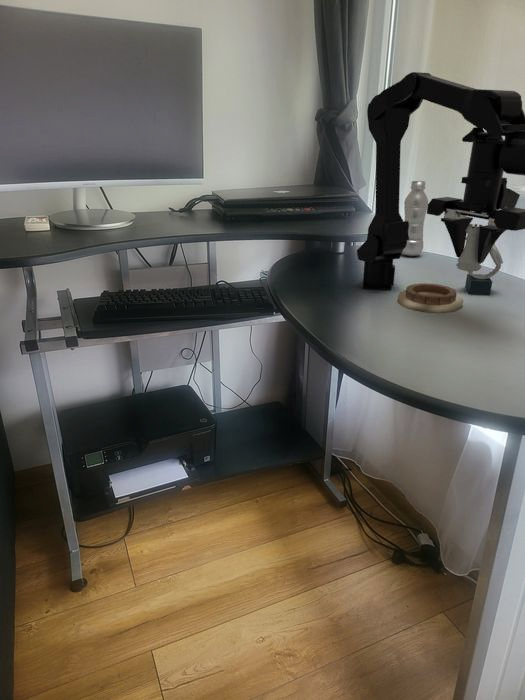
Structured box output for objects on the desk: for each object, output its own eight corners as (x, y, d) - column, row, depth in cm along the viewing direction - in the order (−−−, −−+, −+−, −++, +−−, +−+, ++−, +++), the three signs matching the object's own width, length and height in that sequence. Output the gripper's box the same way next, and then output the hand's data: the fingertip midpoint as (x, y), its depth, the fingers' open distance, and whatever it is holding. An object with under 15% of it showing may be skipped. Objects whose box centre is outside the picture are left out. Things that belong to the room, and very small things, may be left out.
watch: (499, 296, 111) (509, 245, 106) (460, 294, 112) (468, 244, 108) (494, 288, 116) (503, 239, 111) (456, 286, 117) (464, 238, 113)
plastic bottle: (399, 258, 143) (407, 183, 135) (397, 252, 149) (405, 180, 141) (423, 258, 142) (432, 183, 134) (420, 253, 148) (429, 180, 140)
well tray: (398, 310, 103) (399, 297, 102) (396, 291, 114) (398, 280, 113) (466, 314, 100) (468, 301, 99) (458, 294, 112) (459, 283, 111)
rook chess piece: (483, 267, 96) (491, 224, 93) (478, 273, 93) (486, 228, 90) (458, 264, 99) (466, 221, 95) (453, 269, 95) (460, 226, 92)
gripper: (564, 173, 85) (542, 265, 92) (469, 164, 100) (456, 244, 106) (525, 177, 80) (504, 274, 87) (430, 167, 94) (419, 251, 101)
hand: (469, 259), depth 95 cm, fingers closed on rook chess piece, 4 cm apart
